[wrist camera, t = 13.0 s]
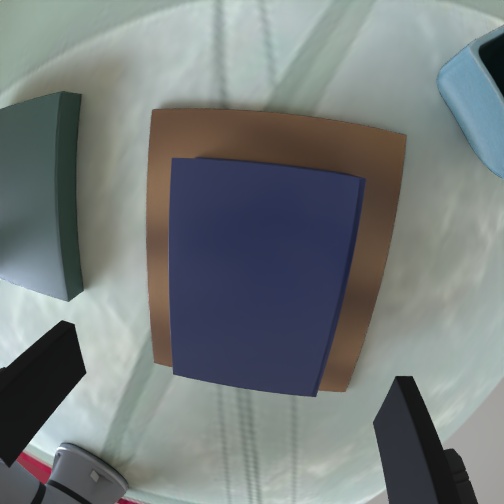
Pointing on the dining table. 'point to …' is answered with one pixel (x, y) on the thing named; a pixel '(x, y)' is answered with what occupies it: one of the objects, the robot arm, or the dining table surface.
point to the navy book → (258, 270)
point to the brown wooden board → (290, 153)
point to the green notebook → (40, 195)
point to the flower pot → (478, 96)
